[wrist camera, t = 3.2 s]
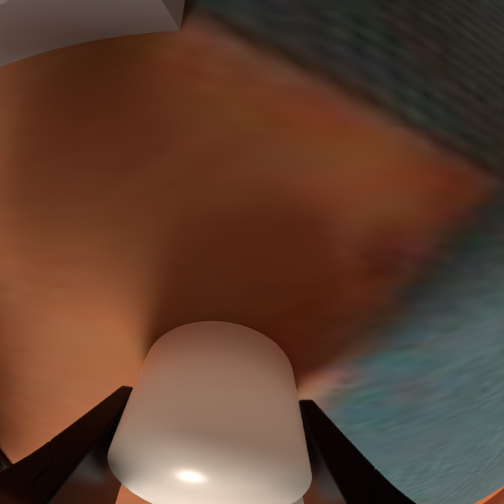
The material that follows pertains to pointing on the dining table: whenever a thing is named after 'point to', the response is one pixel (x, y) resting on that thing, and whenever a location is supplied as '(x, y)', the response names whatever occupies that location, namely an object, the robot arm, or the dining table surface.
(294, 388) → the white rounded cylinder
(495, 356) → the dining table surface
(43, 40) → the tower base
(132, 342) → the dining table surface
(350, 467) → the robot arm
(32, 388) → the dining table surface
